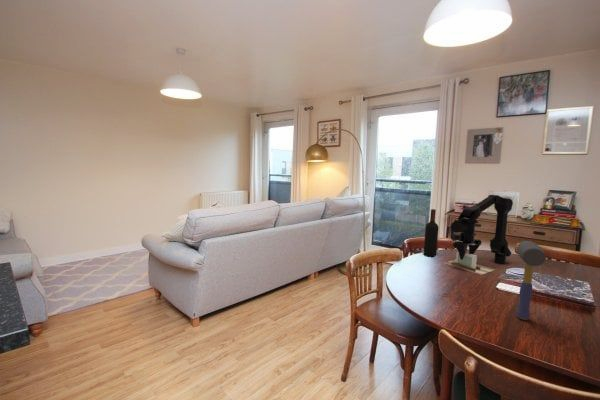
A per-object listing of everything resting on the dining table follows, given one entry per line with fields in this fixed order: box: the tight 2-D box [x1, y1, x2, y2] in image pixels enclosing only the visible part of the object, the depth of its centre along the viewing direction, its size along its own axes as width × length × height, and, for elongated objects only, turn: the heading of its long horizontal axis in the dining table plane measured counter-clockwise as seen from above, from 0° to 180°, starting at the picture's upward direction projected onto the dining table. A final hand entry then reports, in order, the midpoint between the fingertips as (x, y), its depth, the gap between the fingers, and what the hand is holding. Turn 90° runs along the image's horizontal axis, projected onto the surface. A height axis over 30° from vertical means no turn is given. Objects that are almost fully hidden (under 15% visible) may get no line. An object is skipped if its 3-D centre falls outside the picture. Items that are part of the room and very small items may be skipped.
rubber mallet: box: [516, 240, 547, 321], centre depth 112 cm, size 12×8×30 cm, turn 152°
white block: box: [455, 250, 478, 269], centre depth 166 cm, size 10×3×8 cm, turn 32°
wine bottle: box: [423, 208, 439, 258], centre depth 188 cm, size 8×8×30 cm
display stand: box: [444, 258, 496, 276], centre depth 168 cm, size 15×21×2 cm
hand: (466, 258), depth 166 cm, fingers open, 9 cm apart
